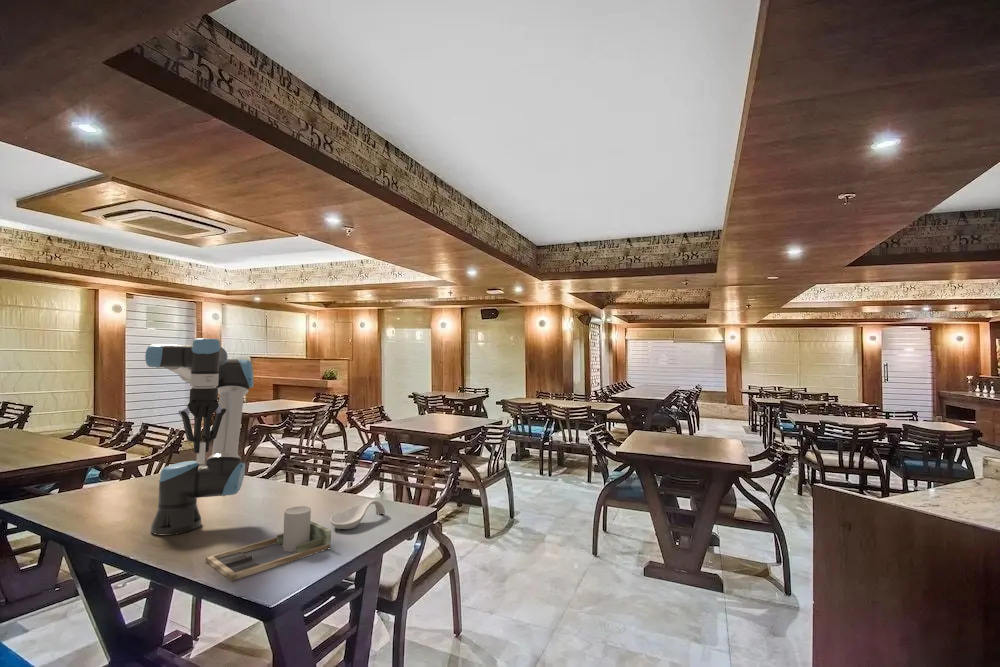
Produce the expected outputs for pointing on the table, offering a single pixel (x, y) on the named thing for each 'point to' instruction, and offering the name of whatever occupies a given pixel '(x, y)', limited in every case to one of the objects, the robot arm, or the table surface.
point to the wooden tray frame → (241, 565)
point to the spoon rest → (354, 515)
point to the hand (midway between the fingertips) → (200, 463)
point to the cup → (296, 527)
